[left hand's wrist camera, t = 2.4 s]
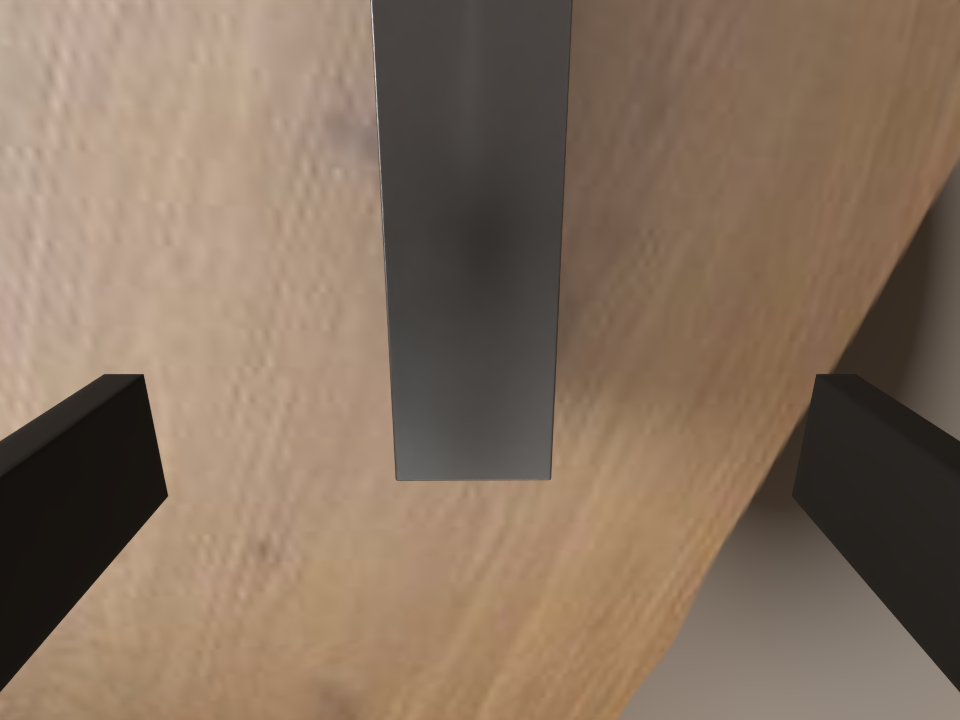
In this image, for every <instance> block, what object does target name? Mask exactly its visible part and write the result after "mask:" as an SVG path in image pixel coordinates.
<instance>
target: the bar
mask: <svg viewBox="0 0 960 720" xmlns="http://www.w3.org/2000/svg"><path fill="white" fill-rule="evenodd" d="M370 3H371V22H372V41H373V60H374V78H375V97H376V116H377V135H378V154H379V173H380V192H381V211H382V229H383V248H384V267H385V286H386V305H387V324H388V343H389V362H390V380H391V399H392V418H393V437H394V456H395V475H396V480H397V481H446V480H550V479H551V469H552V446H553V424H554V402H555V379H556V357H557V335H558V312H559V290H560V268H561V245H562V223H563V201H564V178H565V156H566V133H567V111H568V89H569V66H570V44H571V22H572V0H370Z"/></svg>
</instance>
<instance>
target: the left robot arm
mask: <svg viewBox="0 0 960 720" xmlns="http://www.w3.org/2000/svg"><path fill="white" fill-rule="evenodd" d="M167 497H168V493H167V488H166V483H165V478H164V473H163V468H162V463H161V458H160V454H159V449H158V444H157V439H156V434H155V429H154V424H153V419H152V414H151V409H150V404H149V399H148V394H147V389H146V384H145V379H144V374H104V375H102V376H101V377H99V378H98V379H96V380H95V381H93V382H91V383H90V384H88V385H87V386H85V387H84V388H82V389H81V390H79V391H78V392H76V393H74V394H73V395H71V396H70V397H68V398H67V399H65V400H64V401H62V402H60V403H59V404H57V405H56V406H54V407H53V408H51V409H50V410H48V411H46V412H45V413H43V414H42V415H40V416H39V417H37V418H36V419H34V420H32V421H31V422H29V423H28V424H26V425H25V426H23V427H22V428H20V429H19V430H17V431H15V432H14V433H12V434H11V435H9V436H8V437H6V438H5V439H3V440H1V441H0V692H1V691H2V689H3V688H4V687H5V686H6V685H7V684H8V682H9V681H10V680H11V679H12V678H13V677H14V675H15V674H16V673H17V672H18V671H19V670H20V668H21V667H22V666H23V665H24V664H25V663H26V661H27V660H28V659H29V658H30V657H31V656H32V654H33V653H34V652H35V651H36V650H37V649H38V647H39V646H40V645H41V644H42V643H43V642H44V640H45V639H46V638H47V637H48V636H49V635H50V633H51V632H52V631H53V630H54V629H55V628H56V626H57V625H58V624H59V623H60V622H61V621H62V619H63V618H64V617H65V616H66V615H67V614H68V612H69V611H70V610H71V609H72V608H73V607H74V605H75V604H76V603H77V602H78V601H79V600H80V598H81V597H82V596H83V595H84V594H85V593H86V591H87V590H88V589H89V588H90V587H91V586H92V584H93V583H94V582H95V581H96V580H97V579H98V577H99V576H100V575H101V574H102V573H103V572H104V570H105V569H106V568H107V567H108V566H109V565H110V563H111V562H112V561H113V560H114V559H115V558H116V556H117V555H118V554H119V553H120V552H121V551H122V549H123V548H124V547H125V546H126V545H127V544H128V542H129V541H130V540H131V539H132V538H133V537H134V535H135V534H136V533H137V532H138V531H139V530H140V528H141V527H142V526H143V525H144V524H145V523H146V521H147V520H148V519H149V518H150V517H151V516H152V514H153V513H154V512H155V511H156V510H157V509H158V507H159V506H160V505H161V504H162V503H163V502H164V500H165V499H166V498H167ZM792 497H793V498H794V499H795V500H796V502H797V503H798V504H799V505H800V506H801V507H802V509H803V510H804V511H805V512H806V513H807V514H808V516H809V517H810V518H811V519H812V520H813V521H814V523H815V524H816V525H817V526H818V527H819V528H820V530H821V531H822V532H823V533H824V534H825V535H826V537H827V538H828V539H829V540H830V541H831V542H832V544H833V545H834V546H835V547H836V548H837V549H838V551H839V552H840V553H841V554H842V555H843V556H844V558H845V559H846V560H847V561H848V562H849V563H850V565H851V566H852V567H853V568H854V569H855V570H856V572H857V573H858V574H859V575H860V576H861V577H862V579H863V580H864V581H865V582H866V583H867V584H868V586H869V587H870V588H871V589H872V590H873V591H874V593H875V594H876V595H877V596H878V597H879V598H880V600H881V601H882V602H883V603H884V604H885V605H886V606H887V608H888V609H889V610H890V611H891V612H892V614H893V615H894V616H895V617H896V618H897V619H898V621H899V622H900V623H901V624H902V625H903V626H904V628H905V629H906V630H907V631H908V632H909V633H910V635H911V636H912V637H913V638H914V639H915V640H916V642H917V643H918V644H919V645H920V646H921V647H922V649H923V650H924V651H925V652H926V653H927V654H928V656H929V657H930V658H931V659H932V660H933V661H934V663H935V664H936V665H937V666H938V667H939V668H940V670H941V671H942V672H943V673H944V674H945V675H946V677H947V678H948V679H949V680H950V681H951V682H952V684H953V685H954V686H955V687H956V688H957V689H958V691H959V692H960V441H958V440H957V439H955V438H954V437H952V436H951V435H949V434H948V433H946V432H945V431H943V430H941V429H940V428H938V427H937V426H935V425H934V424H932V423H931V422H929V421H928V420H926V419H924V418H923V417H921V416H920V415H918V414H917V413H915V412H914V411H912V410H910V409H909V408H907V407H906V406H904V405H903V404H901V403H899V402H898V401H896V400H895V399H893V398H892V397H890V396H889V395H887V394H886V393H884V392H882V391H881V390H879V389H878V388H876V387H875V386H873V385H872V384H870V383H868V382H867V381H865V380H864V379H862V378H861V377H859V376H858V375H856V374H816V379H815V384H814V389H813V394H812V399H811V404H810V409H809V414H808V419H807V424H806V429H805V434H804V439H803V444H802V449H801V454H800V459H799V463H798V469H797V473H796V478H795V483H794V488H793V493H792Z"/></svg>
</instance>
